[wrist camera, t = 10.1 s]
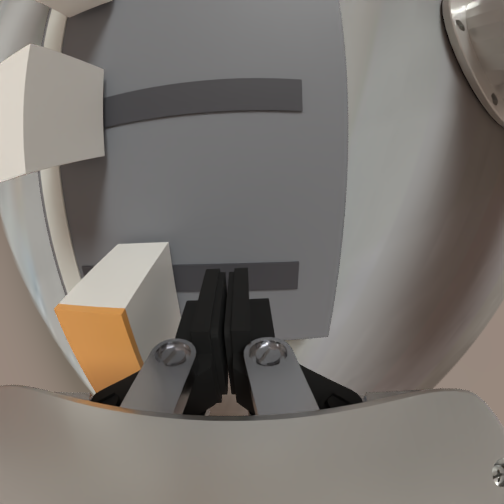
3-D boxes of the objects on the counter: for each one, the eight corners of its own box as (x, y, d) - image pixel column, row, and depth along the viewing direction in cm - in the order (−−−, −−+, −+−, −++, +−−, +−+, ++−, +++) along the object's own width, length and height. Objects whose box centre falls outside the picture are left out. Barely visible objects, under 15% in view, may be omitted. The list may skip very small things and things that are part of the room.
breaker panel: (313, -53, 7) (323, -74, 5) (318, 311, 16) (328, 337, 14) (81, -21, 7) (63, -35, 4) (95, 311, 16) (79, 334, 14)
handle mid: (103, 69, 8) (30, 43, 3) (104, 155, 10) (25, 173, 5) (60, 84, 8) (-15, 75, 3) (62, 165, 10) (-16, 188, 5)
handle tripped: (168, 242, 11) (121, 314, 6) (181, 318, 13) (156, 404, 8) (118, 244, 11) (53, 308, 6) (135, 316, 13) (97, 394, 8)
